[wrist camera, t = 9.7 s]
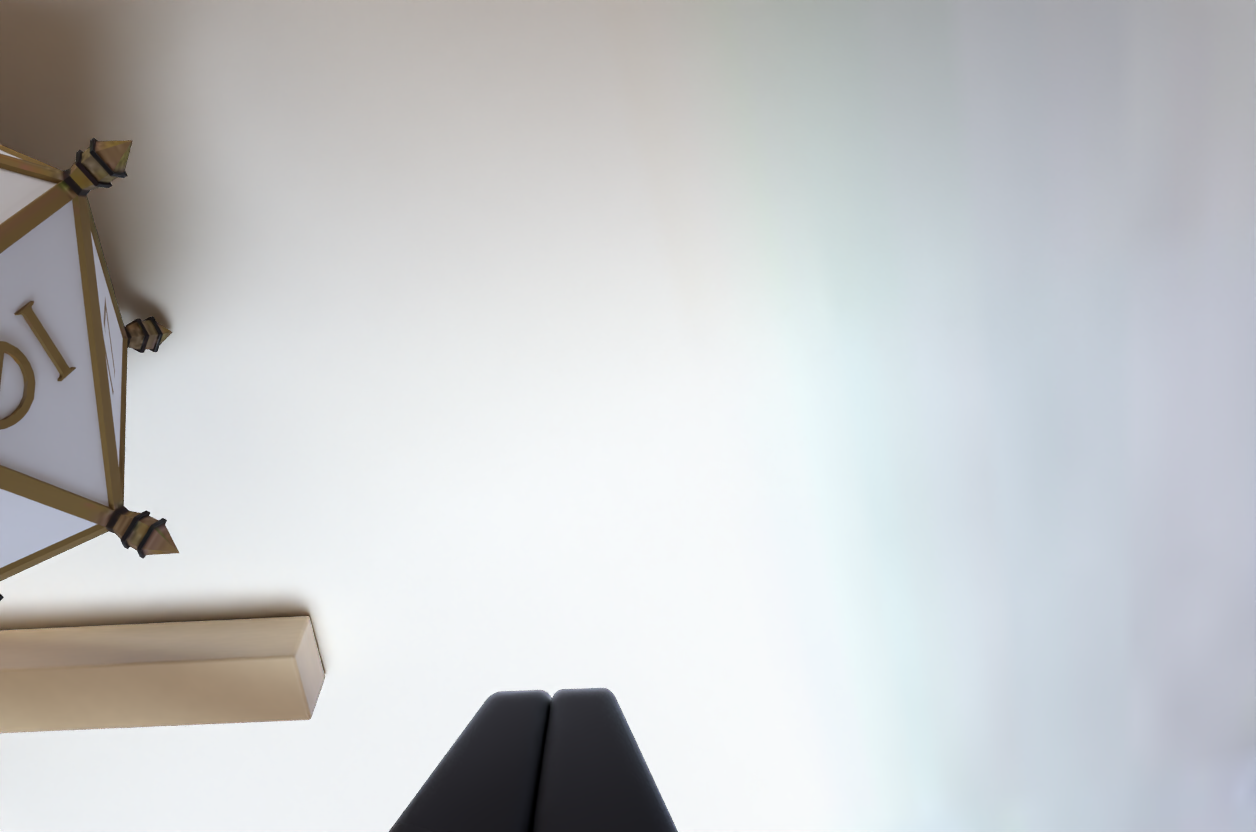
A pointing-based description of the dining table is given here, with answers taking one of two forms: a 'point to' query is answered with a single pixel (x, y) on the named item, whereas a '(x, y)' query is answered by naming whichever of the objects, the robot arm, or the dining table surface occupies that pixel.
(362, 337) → the dining table surface
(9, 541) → the game die
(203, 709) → the strips
